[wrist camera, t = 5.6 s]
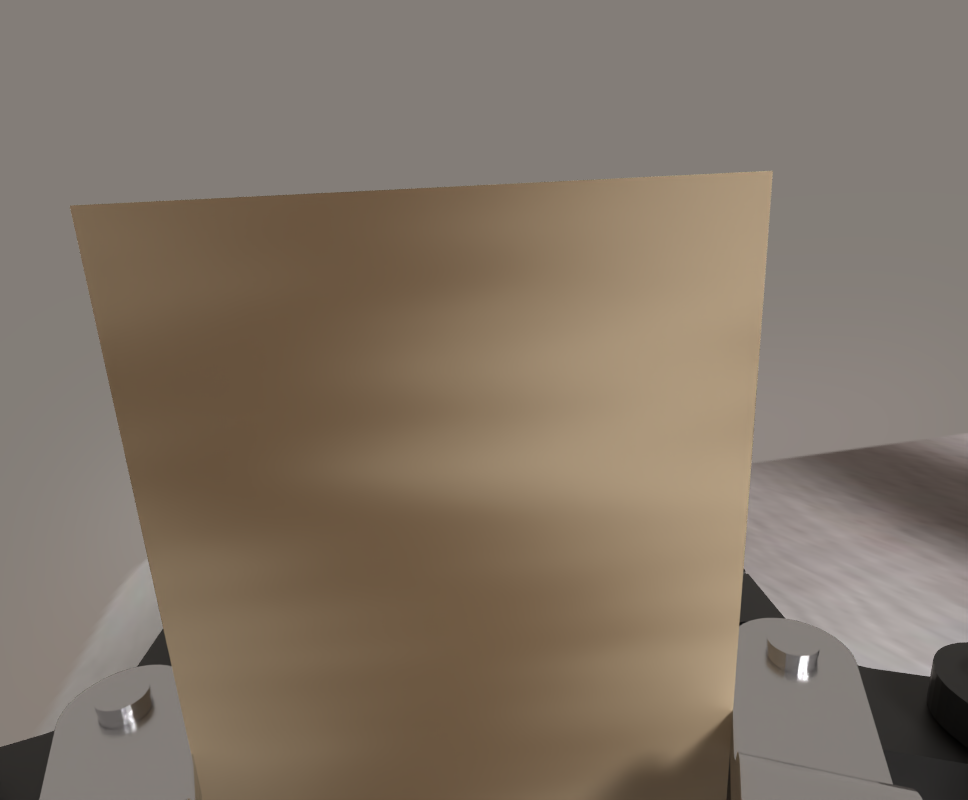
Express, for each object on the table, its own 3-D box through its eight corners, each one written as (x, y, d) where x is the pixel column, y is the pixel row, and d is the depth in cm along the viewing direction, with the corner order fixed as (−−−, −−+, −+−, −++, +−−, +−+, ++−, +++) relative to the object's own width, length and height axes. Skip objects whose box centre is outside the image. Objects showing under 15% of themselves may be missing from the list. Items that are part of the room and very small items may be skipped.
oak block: (603, 895, 13) (608, 190, 9) (691, 1273, 9) (773, 170, 5) (363, 918, 13) (264, 208, 9) (315, 1319, 8) (69, 206, 4)
